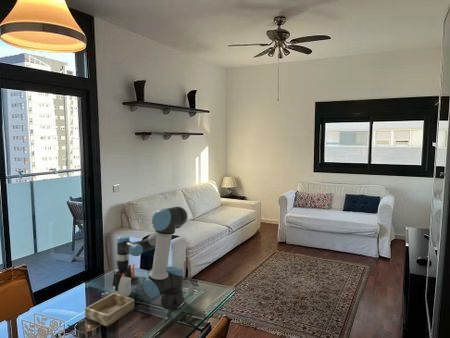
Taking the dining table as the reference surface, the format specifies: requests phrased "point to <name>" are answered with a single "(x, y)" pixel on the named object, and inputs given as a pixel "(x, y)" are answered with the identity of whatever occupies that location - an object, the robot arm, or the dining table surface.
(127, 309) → the wooden tray
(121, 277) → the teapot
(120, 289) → the cup
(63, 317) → the dining table surface
